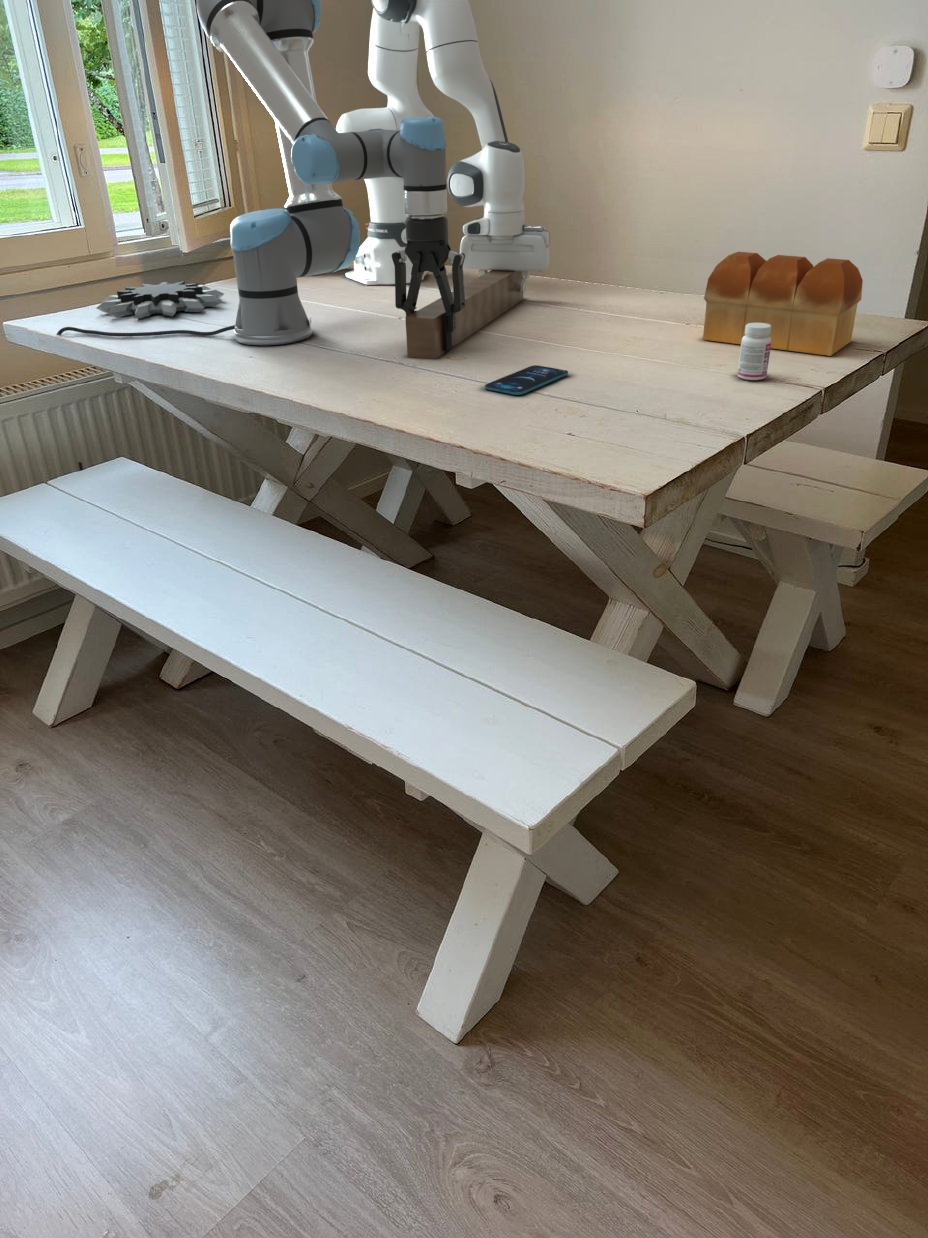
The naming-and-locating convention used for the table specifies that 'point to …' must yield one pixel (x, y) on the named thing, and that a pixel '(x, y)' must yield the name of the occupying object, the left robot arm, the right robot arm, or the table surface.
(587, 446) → the table surface
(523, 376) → the smartphone
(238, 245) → the left robot arm
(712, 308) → the bread
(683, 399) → the table surface
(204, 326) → the table surface
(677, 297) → the table surface
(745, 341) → the pill bottle
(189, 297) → the decorative piece
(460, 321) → the bar
